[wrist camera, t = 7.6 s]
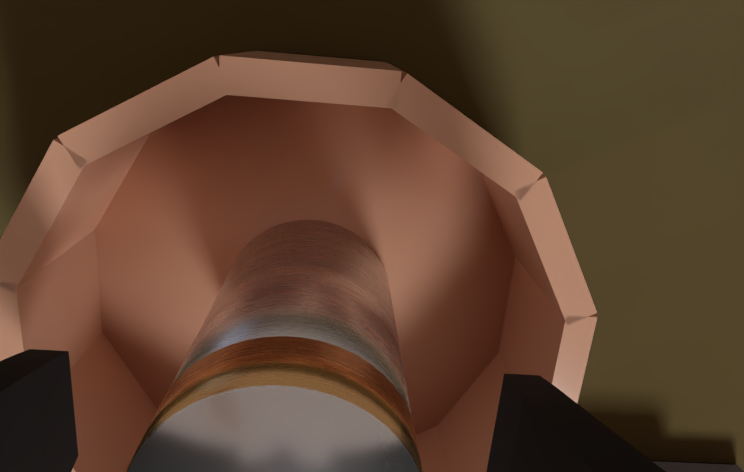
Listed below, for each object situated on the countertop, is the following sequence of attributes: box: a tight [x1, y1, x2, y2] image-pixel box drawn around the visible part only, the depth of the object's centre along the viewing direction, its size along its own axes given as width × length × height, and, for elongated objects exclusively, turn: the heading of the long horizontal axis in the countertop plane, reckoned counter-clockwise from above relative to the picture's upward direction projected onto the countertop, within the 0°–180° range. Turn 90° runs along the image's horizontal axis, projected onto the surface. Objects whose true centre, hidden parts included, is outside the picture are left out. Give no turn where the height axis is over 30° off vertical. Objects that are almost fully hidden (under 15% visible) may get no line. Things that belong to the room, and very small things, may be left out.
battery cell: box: [127, 220, 422, 472], centre depth 11 cm, size 4×4×7 cm
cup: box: [0, 51, 597, 472], centre depth 13 cm, size 11×11×4 cm
